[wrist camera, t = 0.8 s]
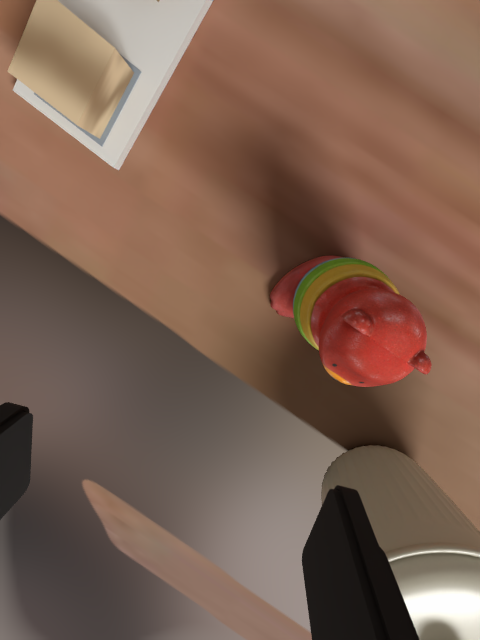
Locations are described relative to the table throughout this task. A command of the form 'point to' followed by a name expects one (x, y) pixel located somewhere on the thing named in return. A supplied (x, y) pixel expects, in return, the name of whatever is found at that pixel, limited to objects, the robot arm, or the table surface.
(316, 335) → the stacking bear
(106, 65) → the oak base block
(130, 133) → the board
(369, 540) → the robot arm
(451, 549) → the canister
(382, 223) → the table surface
